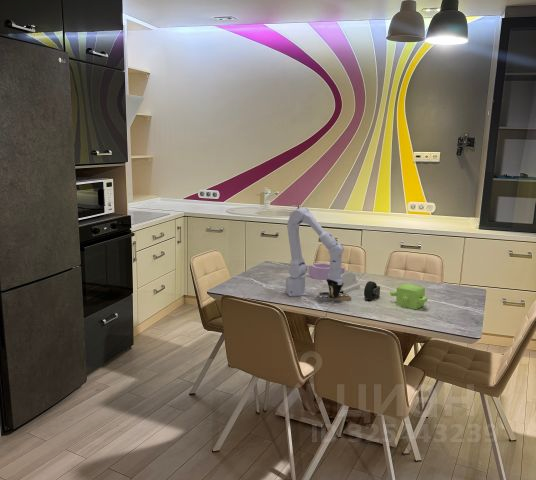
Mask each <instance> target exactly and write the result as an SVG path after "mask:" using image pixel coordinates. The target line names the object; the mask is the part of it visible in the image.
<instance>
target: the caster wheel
mask: <svg viewBox="0 0 536 480" xmlns="http://www.w3.org/2000/svg"><path fill="white" fill-rule="evenodd" d="M363 295H364V298H365V299H366V300H370V301H373V300H374V299H375V298H379V297H380V295H381V286H380V285H377V283H376V282H375V281H372V280H370V281H367V282H366V284H365V286H364V290H363Z"/></svg>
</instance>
